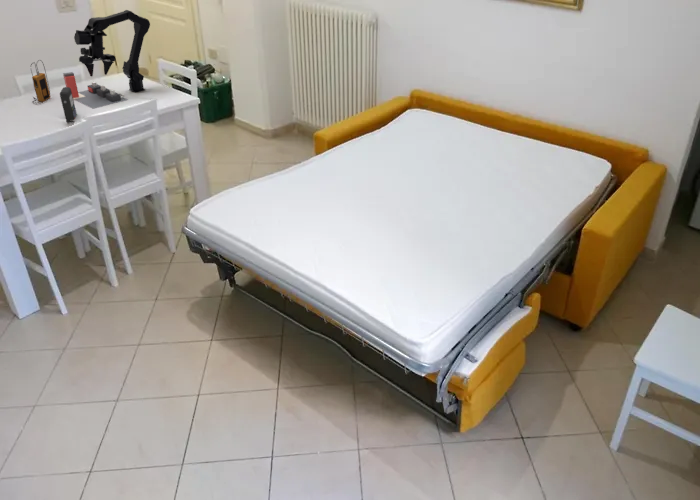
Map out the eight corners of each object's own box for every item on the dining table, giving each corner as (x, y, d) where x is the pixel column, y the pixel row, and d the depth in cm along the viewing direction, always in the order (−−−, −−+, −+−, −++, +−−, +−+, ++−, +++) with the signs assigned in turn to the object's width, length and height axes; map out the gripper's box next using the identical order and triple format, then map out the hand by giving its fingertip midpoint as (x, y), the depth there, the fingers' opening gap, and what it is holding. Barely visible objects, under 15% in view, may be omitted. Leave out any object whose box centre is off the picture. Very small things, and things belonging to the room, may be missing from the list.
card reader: (75, 123, 283) (67, 92, 275) (66, 123, 282) (58, 93, 274) (78, 116, 290) (71, 86, 282) (69, 116, 290) (62, 86, 281)
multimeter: (37, 93, 315) (27, 56, 304) (54, 95, 314) (45, 57, 303) (21, 103, 303) (10, 64, 292) (39, 104, 302) (28, 65, 291)
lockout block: (77, 94, 311) (72, 71, 305) (79, 96, 308) (74, 73, 302) (68, 95, 309) (62, 72, 302) (70, 98, 306) (64, 75, 299)
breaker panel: (100, 89, 324) (98, 78, 320) (129, 102, 309) (126, 90, 306) (61, 99, 309) (58, 87, 306) (89, 112, 295) (86, 100, 291)
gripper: (100, 40, 310) (101, 70, 317) (70, 42, 295) (72, 73, 302) (115, 44, 306) (116, 75, 313) (86, 46, 291) (88, 78, 298)
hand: (98, 75), depth 307 cm, fingers open, 9 cm apart
